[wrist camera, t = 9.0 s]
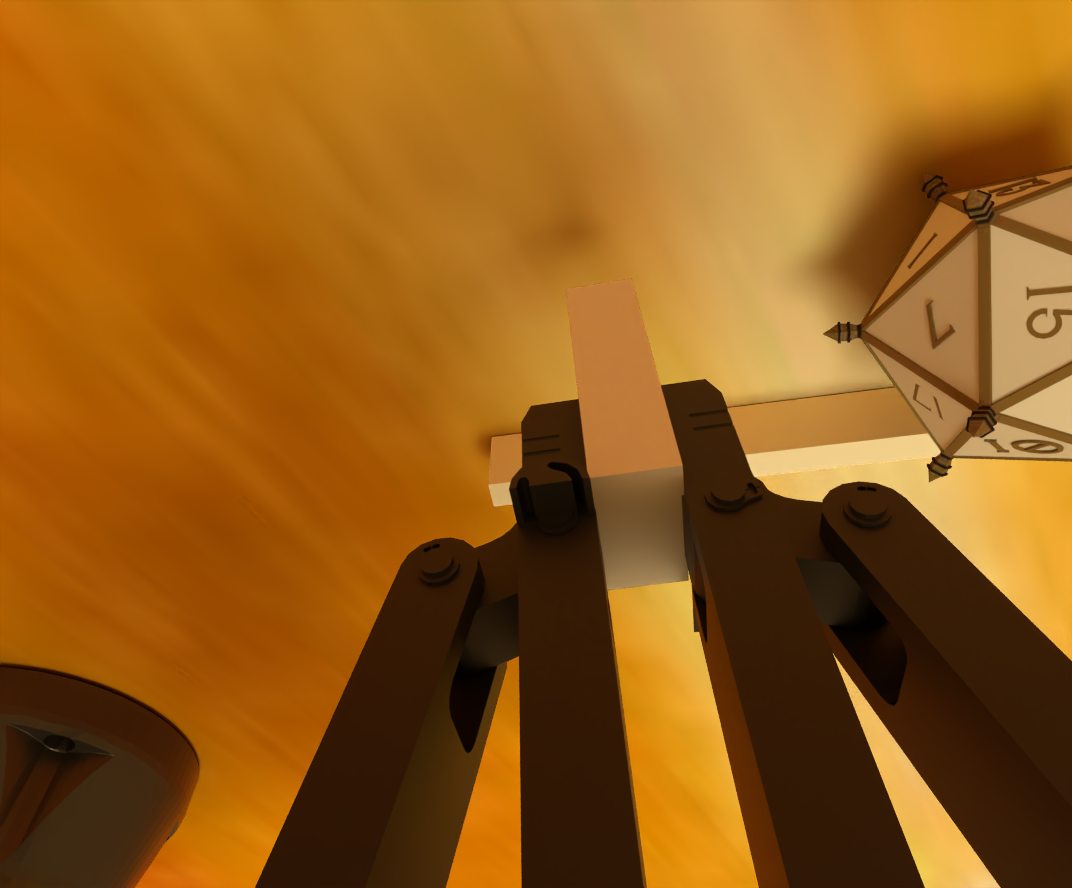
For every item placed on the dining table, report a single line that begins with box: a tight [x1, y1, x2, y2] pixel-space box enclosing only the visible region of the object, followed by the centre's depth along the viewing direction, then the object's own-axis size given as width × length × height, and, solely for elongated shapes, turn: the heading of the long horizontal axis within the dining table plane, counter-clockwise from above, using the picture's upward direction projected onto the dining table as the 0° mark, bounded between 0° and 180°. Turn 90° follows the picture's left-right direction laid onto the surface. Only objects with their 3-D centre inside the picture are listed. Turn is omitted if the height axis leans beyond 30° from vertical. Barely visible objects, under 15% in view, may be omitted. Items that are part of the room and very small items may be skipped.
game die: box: [824, 166, 1072, 482], centre depth 19 cm, size 9×8×10 cm
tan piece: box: [488, 387, 941, 507], centre depth 19 cm, size 25×16×4 cm, turn 99°
